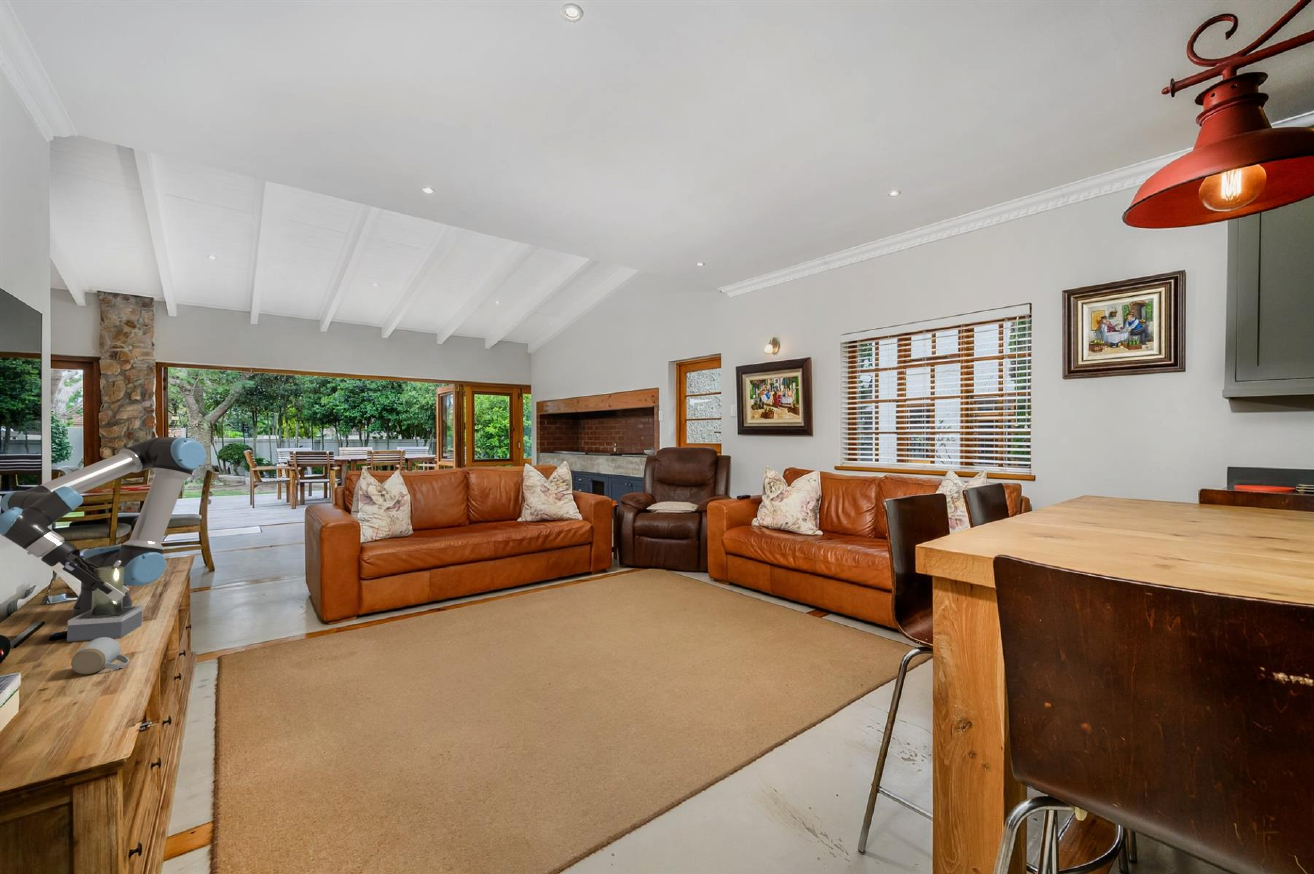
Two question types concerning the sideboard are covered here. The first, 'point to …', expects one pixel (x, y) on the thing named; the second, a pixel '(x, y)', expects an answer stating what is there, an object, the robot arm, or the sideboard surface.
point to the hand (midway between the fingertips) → (122, 595)
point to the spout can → (102, 602)
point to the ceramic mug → (98, 656)
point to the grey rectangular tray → (104, 624)
